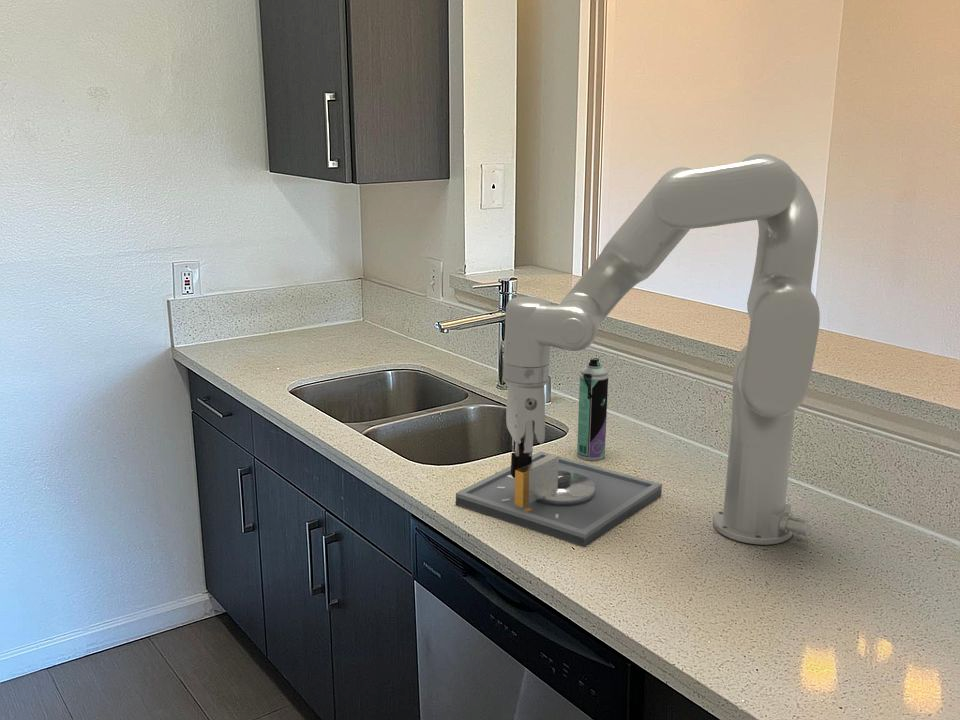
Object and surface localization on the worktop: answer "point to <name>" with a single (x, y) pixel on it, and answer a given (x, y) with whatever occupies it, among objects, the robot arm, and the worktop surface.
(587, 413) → the spray can
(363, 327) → the worktop surface
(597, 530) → the panel
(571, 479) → the dial
